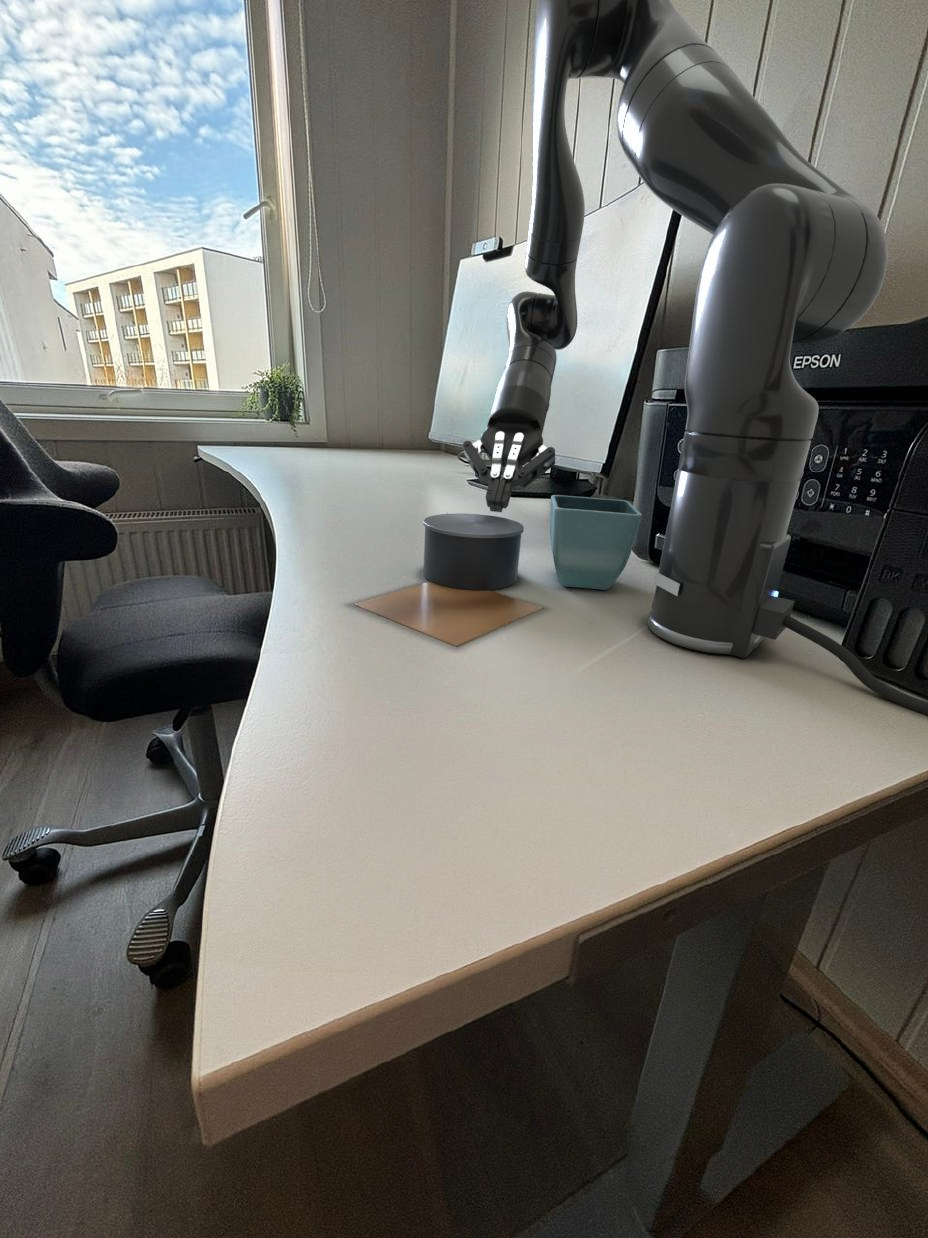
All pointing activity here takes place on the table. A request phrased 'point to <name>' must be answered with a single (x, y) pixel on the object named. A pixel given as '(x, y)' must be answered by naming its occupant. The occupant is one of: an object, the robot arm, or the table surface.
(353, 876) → the table surface
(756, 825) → the table surface
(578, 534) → the flower pot
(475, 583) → the round metal tin
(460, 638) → the desk mat
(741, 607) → the robot arm
